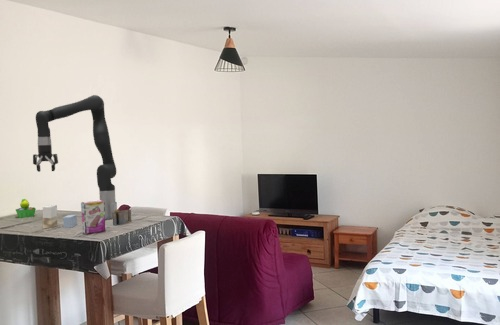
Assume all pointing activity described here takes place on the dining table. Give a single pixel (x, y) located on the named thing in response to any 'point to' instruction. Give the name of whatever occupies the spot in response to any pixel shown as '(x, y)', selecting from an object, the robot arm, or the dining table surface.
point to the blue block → (70, 221)
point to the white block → (49, 211)
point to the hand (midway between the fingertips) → (46, 171)
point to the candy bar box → (93, 216)
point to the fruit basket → (25, 209)
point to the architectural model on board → (121, 217)
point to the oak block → (50, 222)
